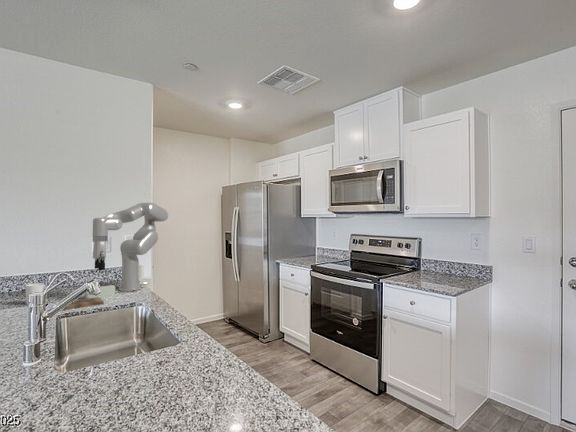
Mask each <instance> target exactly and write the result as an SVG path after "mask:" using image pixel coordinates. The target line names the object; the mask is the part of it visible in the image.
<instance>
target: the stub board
mask: <svg viewBox="0 0 576 432" xmlns="http://www.w3.org/2000/svg"><path fill="white" fill-rule="evenodd" d="M83 298H84V299H83ZM83 298H82V299H77V300H75V299H74V302H72V303H71V304H69V305H68V306H66V307H65V308H64V309H63V310H62V311H67V310H66V309H68V310H73V309H72V308H74V309H78V308H79V309H80V308H85V307H92V306H93V307H94V306H98V305H99V306H100V305H104V300H103V298H99V297H96V298H90V294H85V293H84V296H83ZM54 304H56V302H54V303H53V305H54Z"/></svg>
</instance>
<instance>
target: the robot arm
mask: <svg viewBox="0 0 576 432" xmlns="http://www.w3.org/2000/svg"><path fill="white" fill-rule="evenodd" d="M142 217H144V224H143V225H142V226H141V227H140V228H139V229H138V230H137V231H135V233H134V234H133V236H132V239H127V240H126V239H125V240H124V241H122V242H121V243H120V247H119V248H120V253H121V269H122V270H121V279H122V280H121V287H119V291H120V292H133V290H134V291H137V290H138V289H139V290H141V289H142V286H144V285H145V286H146V285H147V283H148V282H147V281H139V278H140V275H139V274H140V273H139V272H140V270H139V269H140V267H139V265H140V262H139V257H138V256H142V255H143V256H144V255H145V254H147V253H148V252H149V251H150V250H152V248H153V247H154V246H155V245H156V244H157V243H158V239H159V234H158V232H157V231H156V230H157V229H156V228H157V227H156V224H155V222H165V221H167V220H168V217H169V213H168V211H167V210H166V209H165V208H163V207H161V205H157V204H156V203H153V202H140V203H137V204H134V205H132V206H130V207H129V208H126V209H123V210H120V211H116V212H113V213H110V214H108V215H106V216H102V217H95V218H93V219H92V243H93V250H92V252H93V253H92V258H93V259H94V269H96V270H97V269H98V271H105V270H106V260H105V259H106V258H107V257H106V256H107V245H106V243H108V241H109V238H108V233H109V231H119V230H121V228H123V224H126V223H127V224H128V223H130V222H134V221H136V220H138V219H140V218H142ZM140 288H141V289H140Z"/></svg>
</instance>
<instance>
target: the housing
mask: <svg viewBox="0 0 576 432" xmlns="http://www.w3.org/2000/svg"><path fill="white" fill-rule="evenodd" d="M99 287H100V288H101V293H100V294H99V295H97V296H95V295H90V298H96V297H99V298H100V299H106V298H112V297H116V286H115V285H113V284H112V285H102V286H99ZM85 294H89V292H86V293H85V292H84V295H85ZM105 297H106V298H105Z"/></svg>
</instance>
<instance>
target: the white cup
mask: <svg viewBox="0 0 576 432" xmlns="http://www.w3.org/2000/svg"><path fill="white" fill-rule="evenodd" d="M24 287H25V303H26V305H28V295H29V294H30V293H35V292H42V291H45V283H43V282H39V283H38V282H37V283H29V284H25V286H24ZM28 306H29V305H28Z"/></svg>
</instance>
